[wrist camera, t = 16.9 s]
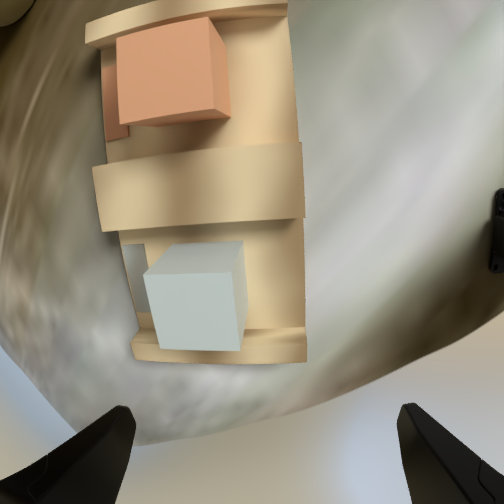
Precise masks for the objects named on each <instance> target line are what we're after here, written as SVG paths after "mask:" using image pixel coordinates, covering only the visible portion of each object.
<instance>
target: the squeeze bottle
mask: <svg viewBox="0 0 504 504" xmlns="http://www.w3.org/2000/svg"><path fill="white" fill-rule="evenodd" d="M33 2H34V0H0V27H2V26H7V25H9V24H12V23H14V22H16V21H17V20H18V19H19V18H21V17H22V16H23V15H24V14H25V13H26V11H27V10H28V9H29V8H30V7H31V5H32V4H33Z"/></svg>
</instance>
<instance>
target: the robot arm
mask: <svg viewBox="0 0 504 504" xmlns="http://www.w3.org/2000/svg"><path fill="white" fill-rule="evenodd" d="M503 193H504V188H500V189H499V190H498V192H497V201H496V214H495V224H494V233H493V241H492V248H491V255H490V261H489V270H490V271H491V272H492V273H502V272H504V196H503V198H502V194H503ZM494 265H495V267H494ZM397 430H398V436H399V443H400V450H401V457H402V464H403V469H404V472H405V476H406V480H407V484H408V488H409V492H410V496H411V500H412V504H504V476H503V475H502V474H500V473H499V472H497V471H496V470H495V469H494V468H492V467H491V466H490V465H489V464H487V463H486V462H485V461H484V460H481V458H480V457H479V456H478V455H476V454H475V453H474V452H473V451H472V450H470V449H469V448H468V447H467V446H466V445H464V444H463V443H462V442H461V441H459V440H458V439H457V438H456V437H455V436H453V434H451V433H450V432H449V431H448V430H447V429H445V428H444V427H443V426H442V425H441V424H439V423H438V422H437V421H436V420H435V419H433V418H432V417H431V416H430V415H429V414H428V413H426V412H425V411H424V410H423V409H422V408H421V407H419V406H418V405H417V404H416V403H408V404H403V405H402V407H401V410H400V413H399V416H398V419H397ZM135 431H136V422H135V419H134V417H133V415H132V413H131V410H130V409H129V408H128V407H127V406H120V405H118V406H116V407H114V408H113V409H111V410H110V411H109V412H107V413H106V414H104V415H103V416H102V417H100V418H99V419H97V420H96V421H95V422H93V423H92V424H90V425H89V426H87V427H86V428H85V429H83V430H82V431H80V432H79V433H77V434H76V435H75V436H73V437H72V438H70V439H69V440H67V441H66V442H64V443H63V444H62V445H60V446H59V447H57V448H56V449H54V450H53V451H52V452H50V453H48V455H45V456H44V457H42V458H41V459H39V460H38V461H36V462H35V463H33V464H31V465H30V466H28V467H26V468H24V469H22V470H21V471H19V472H17V473H15V474H13V475H11V476H9V477H7V478H5V479H2V480H0V504H115V501H116V498H117V495H118V492H119V489H120V486H121V483H122V480H123V477H124V474H125V472H126V469H127V465H128V462H129V458H130V453H131V449H132V444H133V440H134V435H135Z"/></svg>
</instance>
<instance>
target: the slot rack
mask: <svg viewBox="0 0 504 504" xmlns="http://www.w3.org/2000/svg"><path fill="white" fill-rule="evenodd" d="M287 5H288V2H287V0H158V1H154V2H150V3H146V4H143V5H139V6H136V7H133V8H129V9H126V10H123V11H120V12H117V13H114V14H111V15H108V16H105V17H103V18H100V19H97V20H95V21H92V22H89V23H87V24H86V34H85V44H87V45H89V46H92V47H94V48H97V49H99V50H101V83H102V104H103V118H104V131H105V142H106V151H107V160H108V164H105V165H100V166H95V167H92V171H93V179H94V186H95V193H96V199H97V205H98V211H99V217H100V223H101V228H102V232H106V231H117V230H118V233H119V239H120V244H121V249H122V254H123V259H124V264H125V268H126V273H127V277H128V282H129V286H130V290H131V294H132V298H133V302H134V306H135V310H136V314H137V318H138V322H139V325H140V329H139V331H138V332H137V333H136V335H135V336H134V338H133V339H132V341H131V342H130V344H131V347H132V351H133V354H134V357H135V360H145V361H159V362H177V363H203V364H275V363H301V362H307V338H306V330H305V262H304V229H303V218H305V196H304V176H303V158H302V143H301V142H299V135H298V121H297V109H296V97H295V86H294V75H293V65H292V56H291V46H290V38H289V29H288V21H287ZM203 17H209V19H210V21H211V22H212V24H213V26H214V27H215V29H216V31H217V32H218V34H219V36H220V37H221V39H222V41H223V42H224V44H225V46H226V55H227V68H228V82H229V95H230V107H231V117H229V118H220V119H211V120H203V121H195V122H187V123H181V124H174V125H167V126H161V127H150V126H137V125H120V120H119V106H118V87H117V50H116V38H118V37H122V36H125V35H128V34H132V33H135V32H139V31H143V30H147V29H151V28H155V27H159V26H163V25H167V24H172V23H177V22H181V21H187V20H192V19H197V18H203ZM240 240H243V245H244V257H245V268H246V280H247V291H248V302H249V307H248V313H247V318H246V323H245V329H244V334H243V339H242V345H241V350H240V351H205V350H175V349H160V345H159V342H158V338H157V334H156V330H155V326H154V322H153V318H152V313H151V309H150V305H149V300H148V296H147V291H146V287H145V282H144V277H143V274H144V273H145V272H146V271H147V270H148V269H149V268H150V267H151V266H152V265H153V264H154V263H155V262H156V261H157V260H158V259H159V258H160V257H161V256H162V255H163V253H164V252H165V251H166V250H167V249H168V248H169V247H170V246H171V245H172V244H181V243H200V242H219V241H240Z"/></svg>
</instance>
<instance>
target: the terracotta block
mask: <svg viewBox="0 0 504 504" xmlns="http://www.w3.org/2000/svg"><path fill="white" fill-rule="evenodd" d="M116 50H117V87H118V106H119V120H120V125H137V126H150V127H161V126H167V125H174V124H181V123H187V122H195V121H203V120H211V119H220V118H229V117H231V107H230V95H229V82H228V68H227V55H226V46H225V44H224V42H223V41H222V39H221V37H220V36H219V34H218V32H217V31H216V29H215V27H214V26H213V24H212V22H211V21H210V19H209V17H203V18H197V19H192V20H187V21H181V22H177V23H172V24H167V25H163V26H159V27H155V28H151V29H147V30H143V31H139V32H135V33H132V34H128V35H125V36H122V37H118V38H116Z"/></svg>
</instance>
